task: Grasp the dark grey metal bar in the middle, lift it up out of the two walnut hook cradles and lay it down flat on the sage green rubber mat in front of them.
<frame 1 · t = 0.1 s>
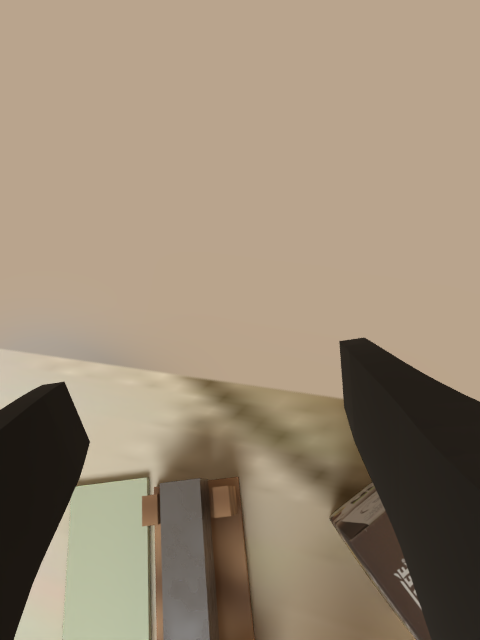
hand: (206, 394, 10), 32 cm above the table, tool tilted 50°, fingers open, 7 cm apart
mat: (108, 598, 37), on the table
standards: (203, 588, 36), on the table
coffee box: (386, 542, 36), on the table
rail: (195, 596, 33), point 3 cm above the table, touching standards
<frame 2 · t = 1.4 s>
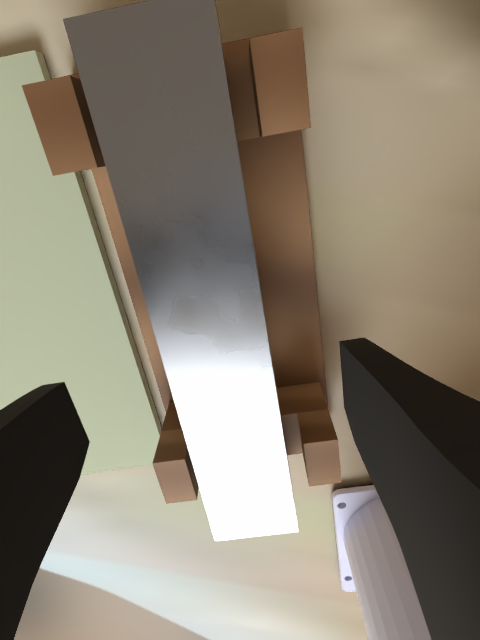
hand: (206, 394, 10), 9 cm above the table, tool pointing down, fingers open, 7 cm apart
mat: (41, 310, 19), on the table
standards: (222, 281, 19), on the table
rail: (219, 305, 16), point 3 cm above the table, touching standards
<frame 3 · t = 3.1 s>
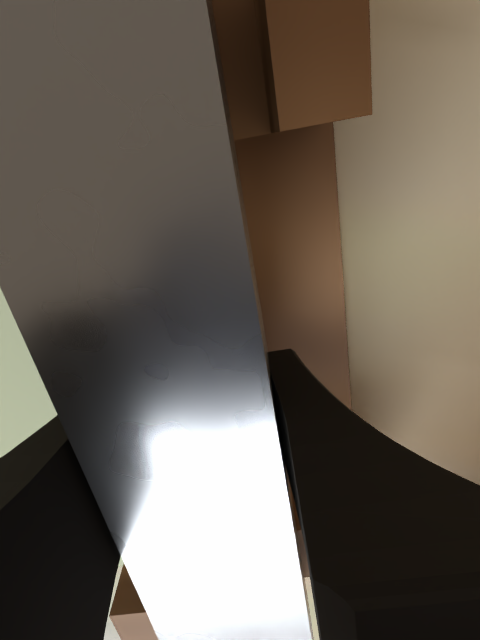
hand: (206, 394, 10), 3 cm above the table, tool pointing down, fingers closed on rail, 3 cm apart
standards: (214, 337, 13), on the table
rail: (207, 389, 10), point 3 cm above the table, touching gripper, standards
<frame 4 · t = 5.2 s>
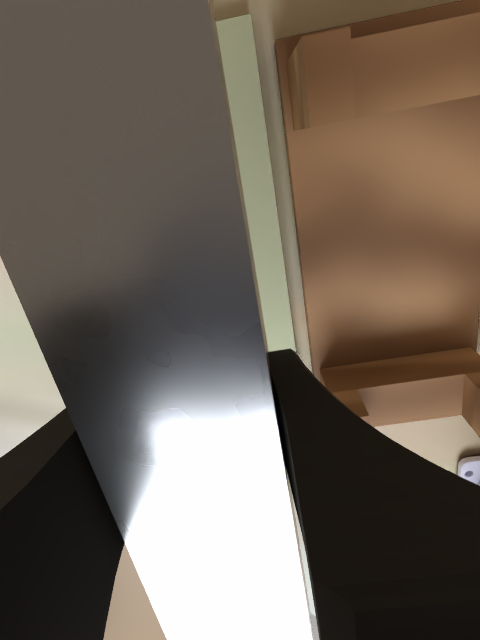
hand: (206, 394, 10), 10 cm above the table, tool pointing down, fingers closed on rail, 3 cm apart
mat: (203, 277, 20), on the table
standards: (386, 246, 19), on the table
rail: (207, 382, 11), point 10 cm above the table, touching gripper
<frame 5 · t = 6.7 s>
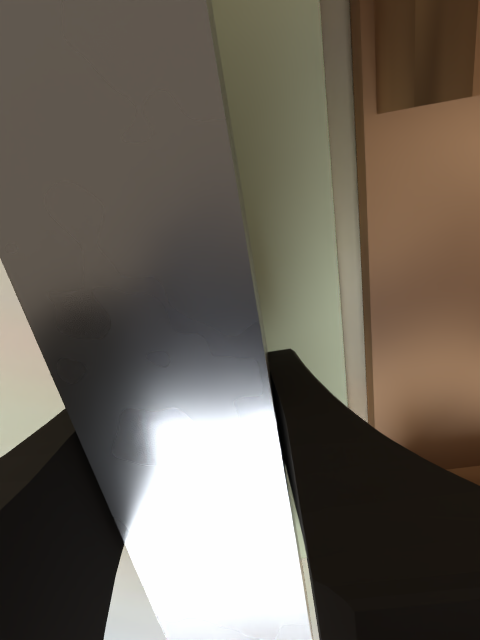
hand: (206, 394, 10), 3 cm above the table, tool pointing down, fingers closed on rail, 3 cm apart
mat: (213, 345, 13), on the table
rail: (207, 381, 11), point 2 cm above the table, touching gripper
when the fingers open (2 cm above the table, at t = 7.7 s): rail stays where it is, resting on mat.
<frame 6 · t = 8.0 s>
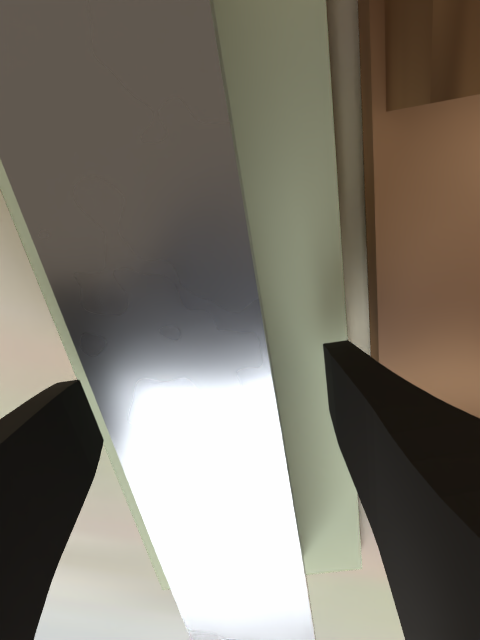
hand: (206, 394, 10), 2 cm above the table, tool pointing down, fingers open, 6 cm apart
mat: (211, 355, 12), on the table
rail: (211, 364, 11), point 1 cm above the table, touching mat
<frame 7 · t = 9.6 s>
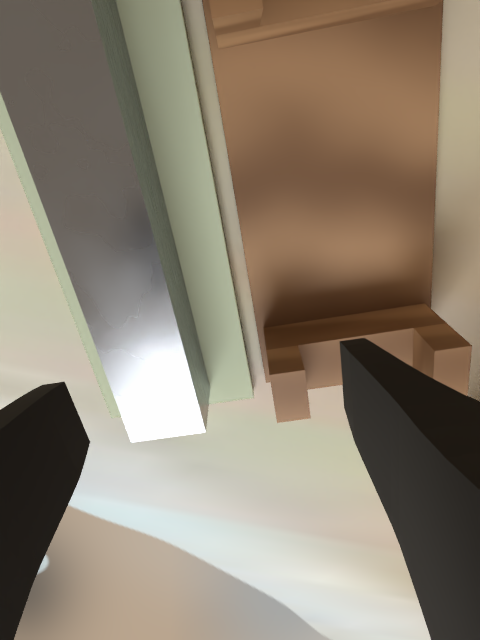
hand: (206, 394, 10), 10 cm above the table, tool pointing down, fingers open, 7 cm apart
mat: (133, 224, 18), on the table
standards: (331, 190, 17), on the table
rail: (130, 226, 17), point 1 cm above the table, touching mat
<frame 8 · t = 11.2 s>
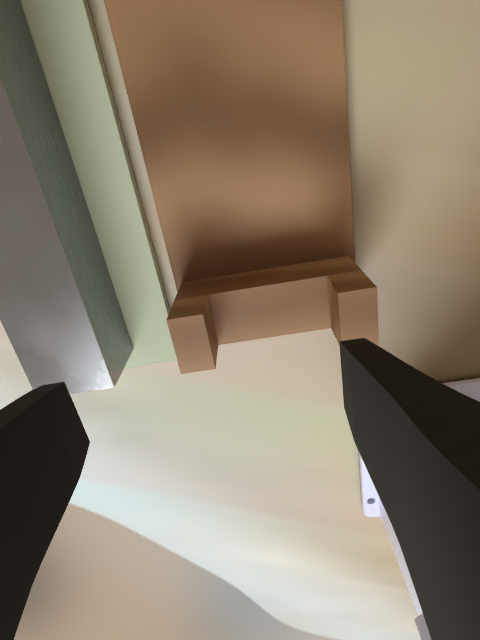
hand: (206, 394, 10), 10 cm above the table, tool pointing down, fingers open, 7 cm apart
mat: (40, 171, 17), on the table
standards: (242, 133, 17), on the table
rail: (34, 170, 17), point 1 cm above the table, touching mat
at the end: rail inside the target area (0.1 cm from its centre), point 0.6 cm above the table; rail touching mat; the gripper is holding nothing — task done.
